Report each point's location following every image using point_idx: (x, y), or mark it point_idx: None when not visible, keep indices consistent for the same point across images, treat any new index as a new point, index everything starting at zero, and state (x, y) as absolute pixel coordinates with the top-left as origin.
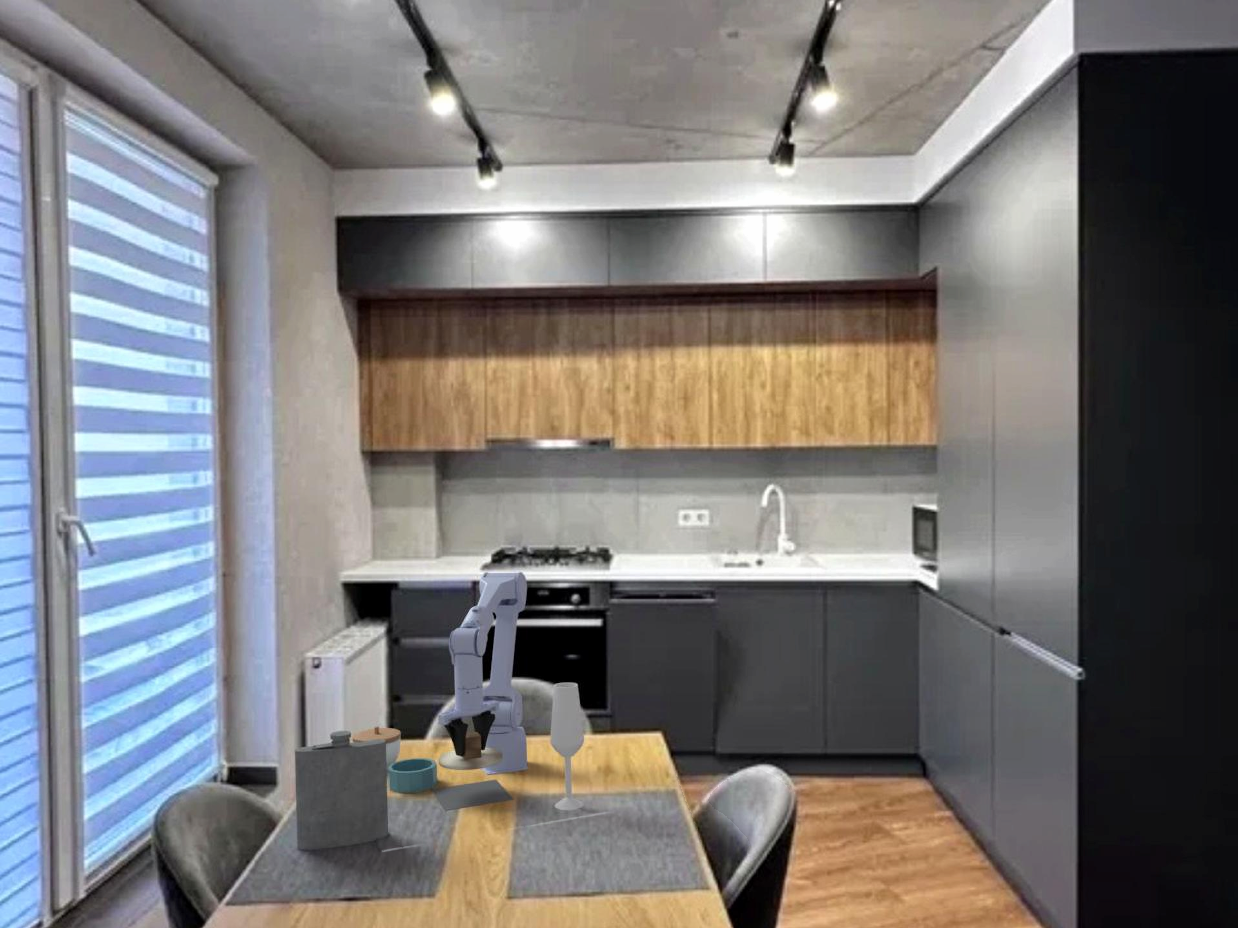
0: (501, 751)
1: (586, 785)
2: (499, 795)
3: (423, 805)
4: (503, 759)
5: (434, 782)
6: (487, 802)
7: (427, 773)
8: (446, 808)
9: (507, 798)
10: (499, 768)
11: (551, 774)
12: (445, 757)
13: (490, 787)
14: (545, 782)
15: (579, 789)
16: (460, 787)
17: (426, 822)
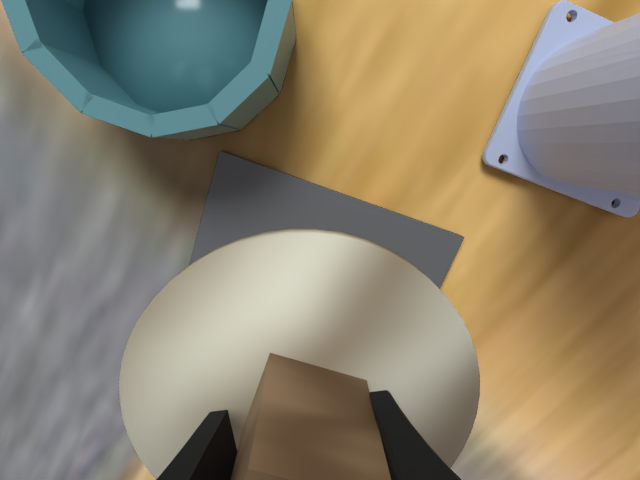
0: (614, 185)
1: (598, 456)
2: None
3: (131, 269)
4: (587, 184)
5: (250, 116)
6: None
7: (190, 132)
8: None
9: None
10: (544, 171)
11: (629, 311)
12: (180, 331)
13: None
14: (552, 360)
15: (559, 467)
16: (316, 219)
17: (80, 401)
